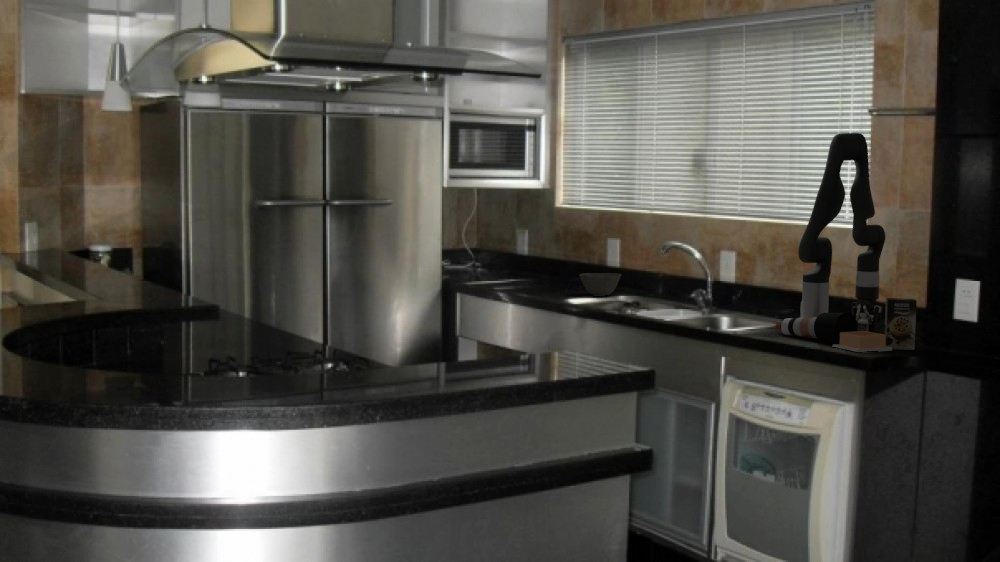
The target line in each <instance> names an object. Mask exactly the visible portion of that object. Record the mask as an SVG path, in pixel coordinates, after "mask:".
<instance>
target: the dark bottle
mask: <svg viewBox="0 0 1000 562" xmlns="http://www.w3.org/2000/svg"><path fill="white" fill-rule="evenodd" d="M774 327H775V330H779V331H780V330H781V332H782V335H784V336H793V337H803V338H813V339H814V338H815V339H817V340H818V341H820V342H822V341H823V342H822V343H827V342H832V343H831V344H840V332H855V331H858V324H857V321H856V318H855V317H854V316H853V315H852V313H850V312H828V313H822V314H820V315H819V316H818V317H805V318H800V317H791V318H790V317H789V318H784V319H783V320H782V321H781V323H776V324H775V325H774Z"/></svg>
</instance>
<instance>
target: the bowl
mask: <svg viewBox="0 0 1000 562" xmlns="http://www.w3.org/2000/svg"><path fill="white" fill-rule="evenodd" d="M621 277H622V274H621V273H614V272H613V273H611V272H607V273H602V272H597V273H594V272H593V273H592V272H586V273H580V274H579V278H580V281H581V283H582V284H583V287H584V288H585V290H586V291H587V292H588V293H589V294H590V295H591V294H596V295H608V296H610V295H611V294H612V293H613V292H614V291H615V289H616V288H617V286H618V284H619V281H620V280H621ZM609 294H610V295H609Z"/></svg>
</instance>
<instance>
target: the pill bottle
mask: <svg viewBox="0 0 1000 562" xmlns="http://www.w3.org/2000/svg"><path fill="white" fill-rule="evenodd" d="M872 315H873V314H872ZM872 315H870V316H872ZM860 318H861V319H860V320H858V331H868V332H869V322H868V319H867V318H866V314H865V313H861V314H860ZM871 319H872V318H871ZM872 321H873V319H872Z"/></svg>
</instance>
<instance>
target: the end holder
mask: <svg viewBox="0 0 1000 562" xmlns="http://www.w3.org/2000/svg"><path fill="white" fill-rule="evenodd" d="M885 337H886V335H884V333H879V332H876V333H873V332H868V331H855V332H840V343H832V347H838V348H842V349H847V350H851V351H856V352H863V353H867V352H866V351H878V352H888V351H889V352H891V351H893V349H892V347H888V346H885ZM864 351H865V352H864Z"/></svg>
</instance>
